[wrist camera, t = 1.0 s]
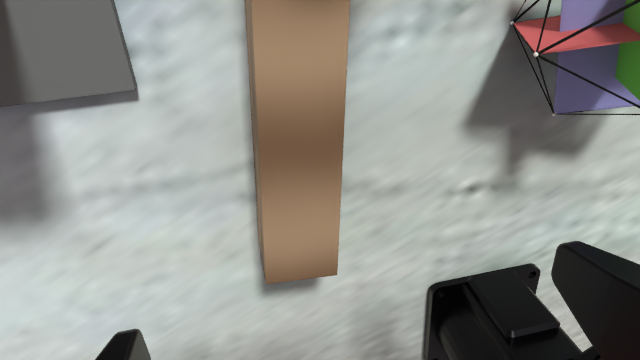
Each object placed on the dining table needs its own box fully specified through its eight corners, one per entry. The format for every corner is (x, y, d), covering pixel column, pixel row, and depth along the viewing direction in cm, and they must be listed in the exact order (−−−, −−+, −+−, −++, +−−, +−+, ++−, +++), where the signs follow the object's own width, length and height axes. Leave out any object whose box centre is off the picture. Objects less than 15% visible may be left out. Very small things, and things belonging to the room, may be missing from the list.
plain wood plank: (320, 227, 22) (337, 274, 19) (258, 234, 22) (265, 284, 19) (325, -47, 16) (351, -42, 13) (241, -48, 16) (249, -42, 13)
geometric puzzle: (473, 135, 19) (732, 176, 13) (468, -49, 15) (815, -86, 10) (537, 70, 23) (753, 83, 18) (545, -86, 19) (818, -126, 14)
